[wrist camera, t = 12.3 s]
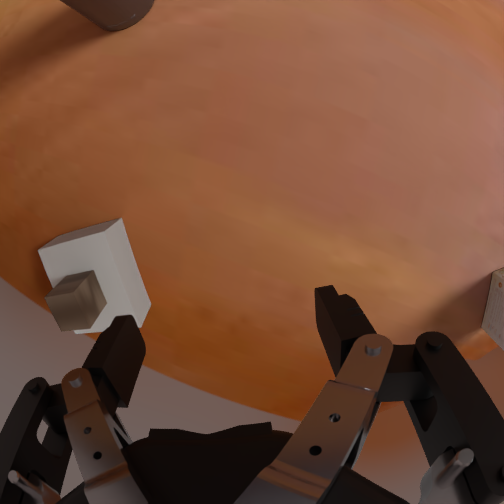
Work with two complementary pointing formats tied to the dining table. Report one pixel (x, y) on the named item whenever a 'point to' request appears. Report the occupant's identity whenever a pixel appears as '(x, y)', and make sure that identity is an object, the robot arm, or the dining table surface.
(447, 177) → the dining table surface
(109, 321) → the block
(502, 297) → the coffeecake box
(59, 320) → the walnut block
